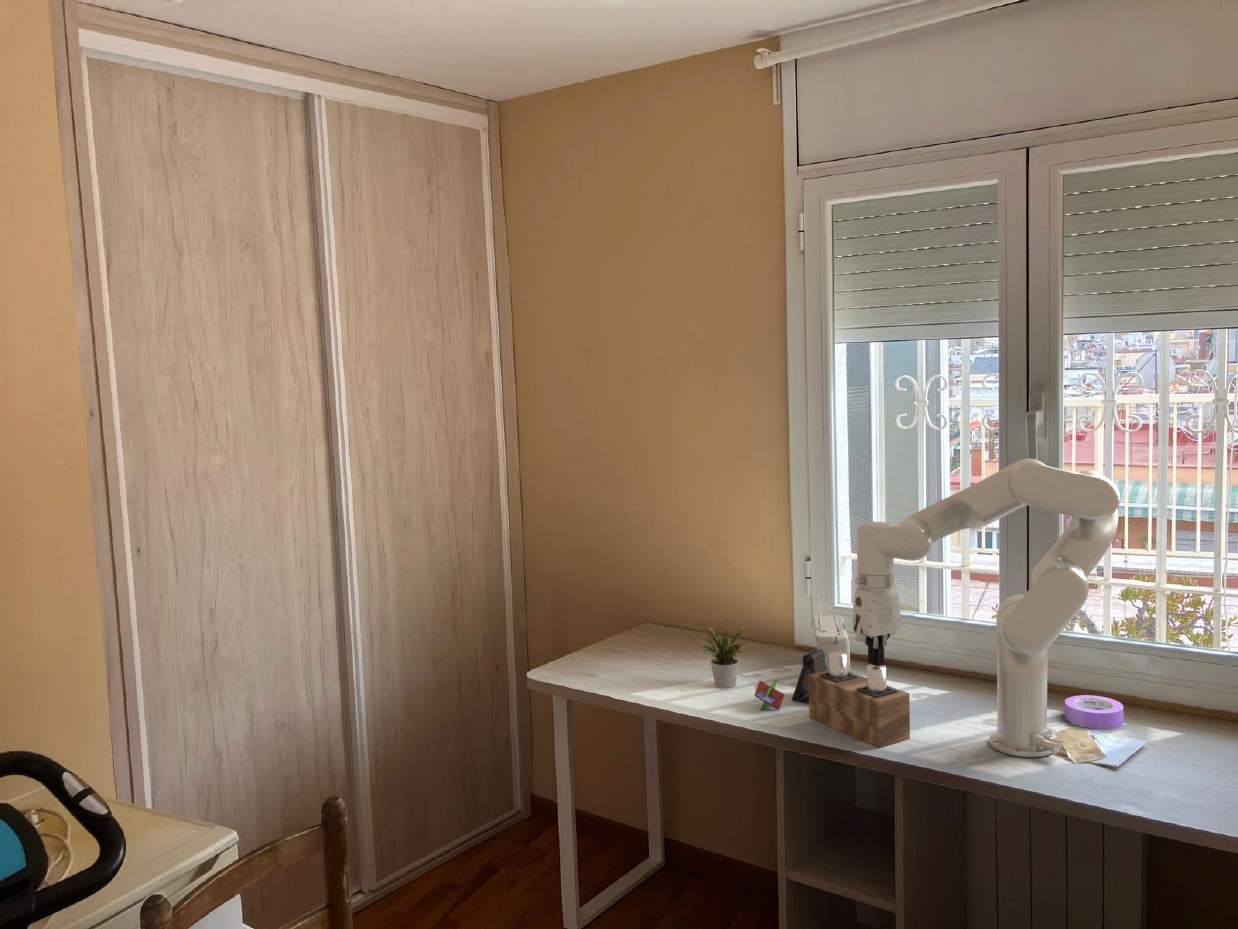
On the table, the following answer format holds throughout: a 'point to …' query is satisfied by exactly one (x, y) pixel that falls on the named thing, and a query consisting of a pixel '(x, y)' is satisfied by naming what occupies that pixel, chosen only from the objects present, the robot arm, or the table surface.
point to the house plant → (724, 658)
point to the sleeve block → (859, 709)
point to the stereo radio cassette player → (831, 635)
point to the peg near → (876, 679)
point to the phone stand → (811, 665)
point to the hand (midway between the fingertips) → (876, 664)
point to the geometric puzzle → (769, 694)
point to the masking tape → (1094, 712)
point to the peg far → (838, 665)
